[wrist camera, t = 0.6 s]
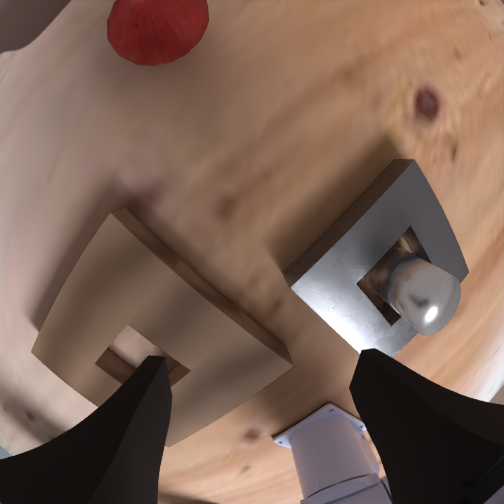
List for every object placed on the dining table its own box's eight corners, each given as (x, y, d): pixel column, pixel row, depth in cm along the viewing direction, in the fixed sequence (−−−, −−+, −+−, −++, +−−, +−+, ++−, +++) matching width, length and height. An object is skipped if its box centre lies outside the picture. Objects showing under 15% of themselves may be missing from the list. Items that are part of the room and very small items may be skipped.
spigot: (411, 266, 20) (466, 300, 13) (379, 300, 20) (427, 345, 14) (389, 233, 19) (450, 261, 12) (354, 269, 19) (406, 313, 13)
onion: (113, 61, 13) (59, 13, 6) (166, 6, 12) (143, -59, 5) (172, 95, 15) (135, 44, 7) (228, 36, 14) (232, -36, 6)
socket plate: (286, 346, 21) (293, 366, 18) (171, 429, 23) (168, 447, 21) (124, 206, 16) (110, 212, 14) (43, 337, 19) (31, 352, 16)
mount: (452, 263, 20) (469, 272, 18) (366, 354, 22) (378, 370, 20) (394, 159, 17) (414, 159, 15) (282, 273, 19) (290, 287, 16)
